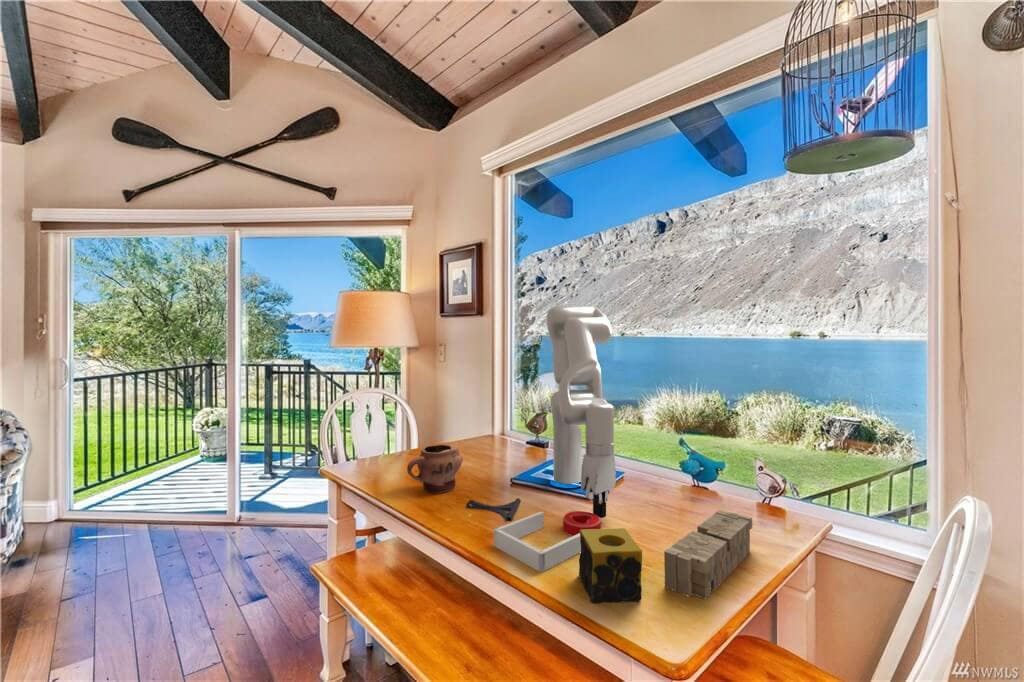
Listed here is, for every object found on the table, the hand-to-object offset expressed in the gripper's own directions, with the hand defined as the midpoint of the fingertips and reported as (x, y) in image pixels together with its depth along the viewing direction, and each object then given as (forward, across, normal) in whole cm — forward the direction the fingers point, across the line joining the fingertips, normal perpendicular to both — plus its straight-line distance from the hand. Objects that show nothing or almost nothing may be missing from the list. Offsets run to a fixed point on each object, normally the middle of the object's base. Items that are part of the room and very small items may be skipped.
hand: (599, 515), depth 122 cm
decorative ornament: (+2, +7, 0) cm, 8 cm away
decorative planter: (+2, +20, -50) cm, 54 cm away
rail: (+1, +22, 0) cm, 22 cm away
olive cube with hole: (+2, +25, +21) cm, 32 cm away
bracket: (+2, +16, -26) cm, 31 cm away
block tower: (+2, +1, +31) cm, 31 cm away
